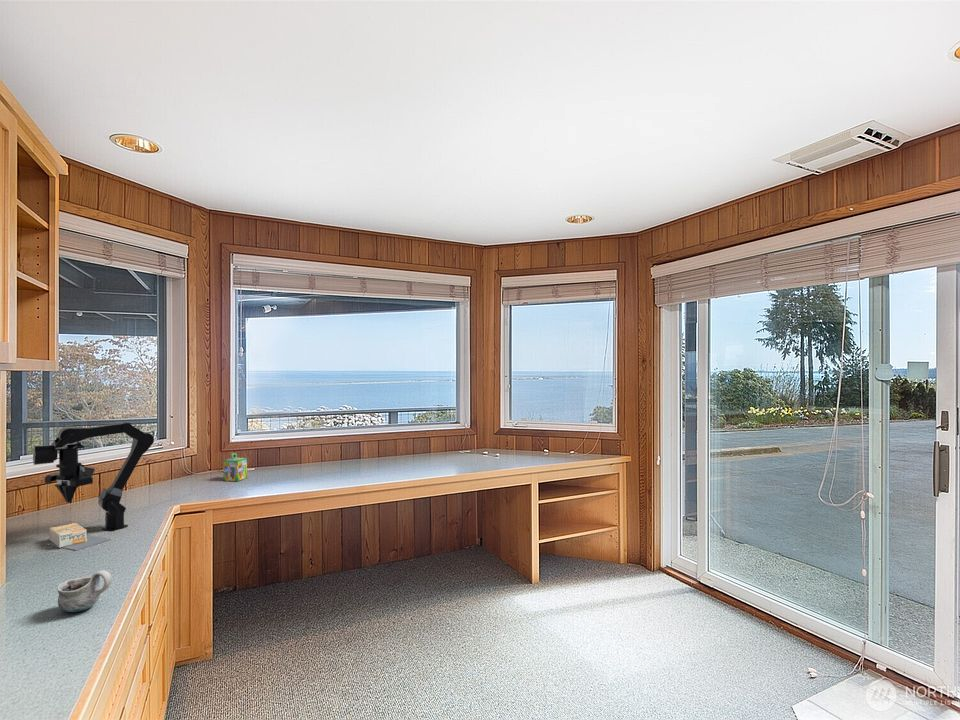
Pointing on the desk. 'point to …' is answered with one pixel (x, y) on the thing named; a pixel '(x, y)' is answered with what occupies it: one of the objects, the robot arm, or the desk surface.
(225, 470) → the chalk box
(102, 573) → the mug
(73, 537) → the supplement box
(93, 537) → the mat
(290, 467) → the desk surface
